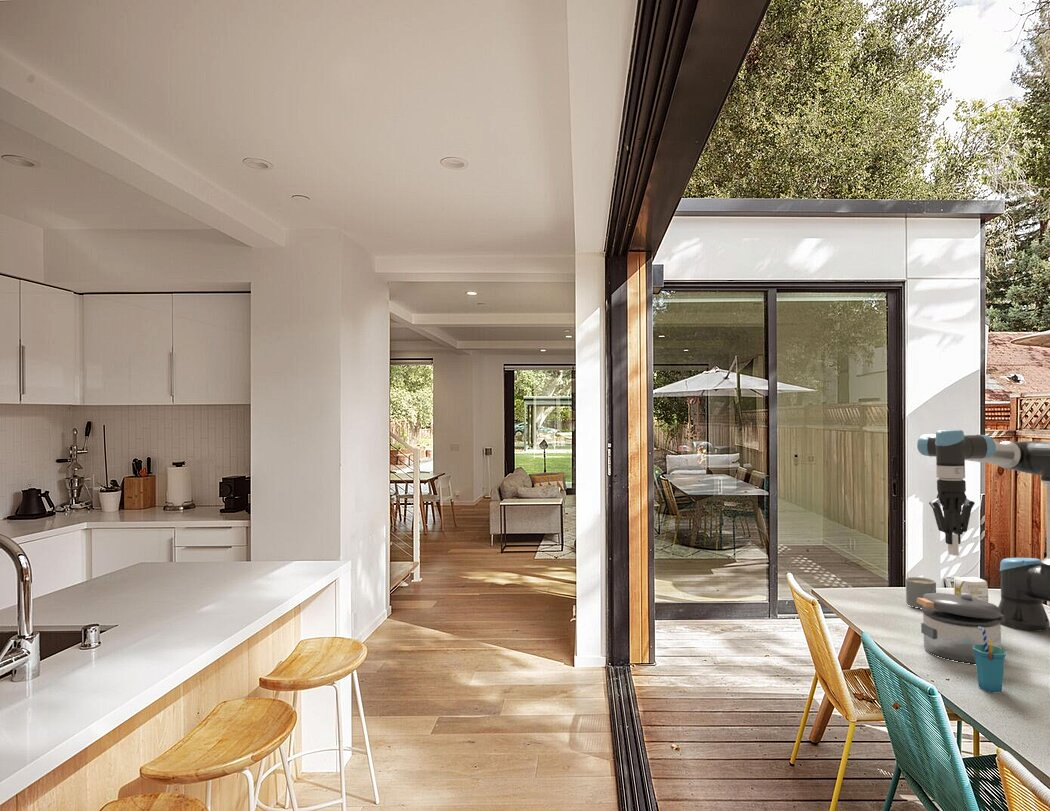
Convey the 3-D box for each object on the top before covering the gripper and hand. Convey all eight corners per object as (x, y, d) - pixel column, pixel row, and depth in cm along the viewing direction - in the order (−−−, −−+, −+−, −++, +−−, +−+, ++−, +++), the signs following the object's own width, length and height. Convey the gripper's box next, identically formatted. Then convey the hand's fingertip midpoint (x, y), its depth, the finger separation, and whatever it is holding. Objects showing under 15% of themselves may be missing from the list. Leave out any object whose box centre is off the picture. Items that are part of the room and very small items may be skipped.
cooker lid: (971, 601, 211) (971, 590, 211) (1016, 620, 191) (1017, 609, 191) (902, 596, 211) (903, 585, 211) (941, 615, 191) (942, 603, 191)
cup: (964, 675, 184) (963, 623, 184) (997, 679, 181) (995, 625, 181) (980, 696, 171) (979, 639, 171) (1015, 700, 168) (1014, 642, 168)
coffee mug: (937, 611, 243) (936, 584, 243) (906, 607, 248) (905, 581, 248) (935, 602, 255) (934, 576, 255) (906, 598, 260) (905, 574, 260)
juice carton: (992, 639, 212) (991, 581, 213) (965, 639, 213) (964, 581, 213) (977, 631, 220) (976, 575, 220) (951, 631, 220) (950, 575, 221)
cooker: (976, 641, 211) (975, 603, 211) (1024, 665, 190) (1022, 623, 190) (908, 642, 211) (907, 603, 211) (949, 666, 190) (947, 624, 191)
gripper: (937, 480, 198) (940, 557, 198) (980, 479, 198) (982, 556, 197) (922, 478, 205) (925, 552, 205) (963, 477, 205) (966, 551, 205)
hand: (953, 554), depth 201 cm, fingers closed
